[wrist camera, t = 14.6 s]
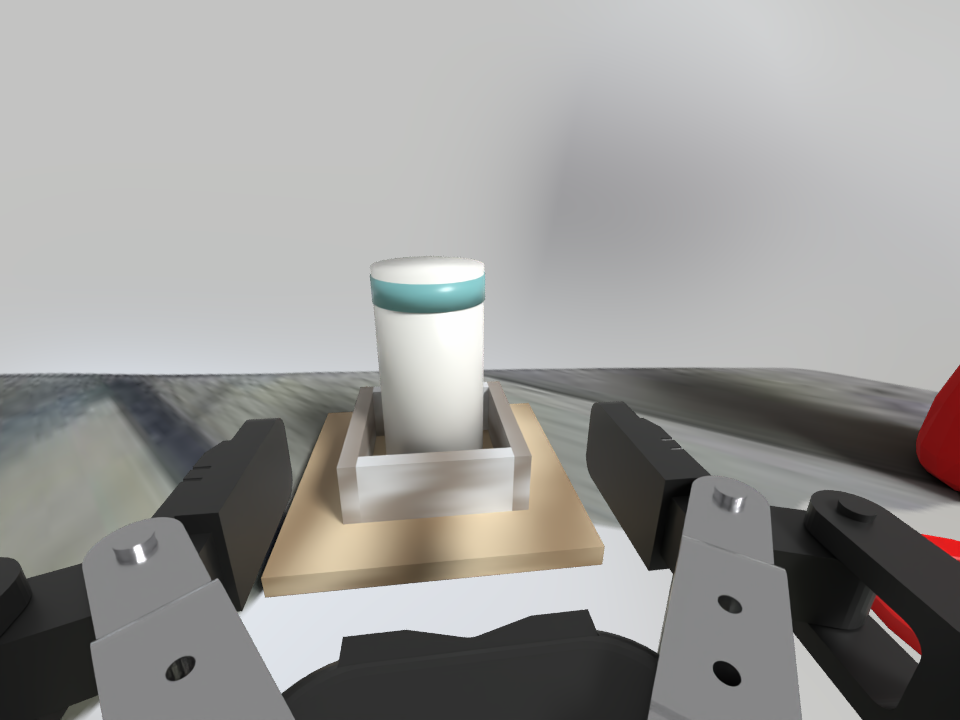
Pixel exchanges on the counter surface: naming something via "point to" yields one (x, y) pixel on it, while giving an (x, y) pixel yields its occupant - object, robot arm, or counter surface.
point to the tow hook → (892, 619)
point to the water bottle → (942, 435)
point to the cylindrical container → (430, 352)
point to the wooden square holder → (428, 507)
